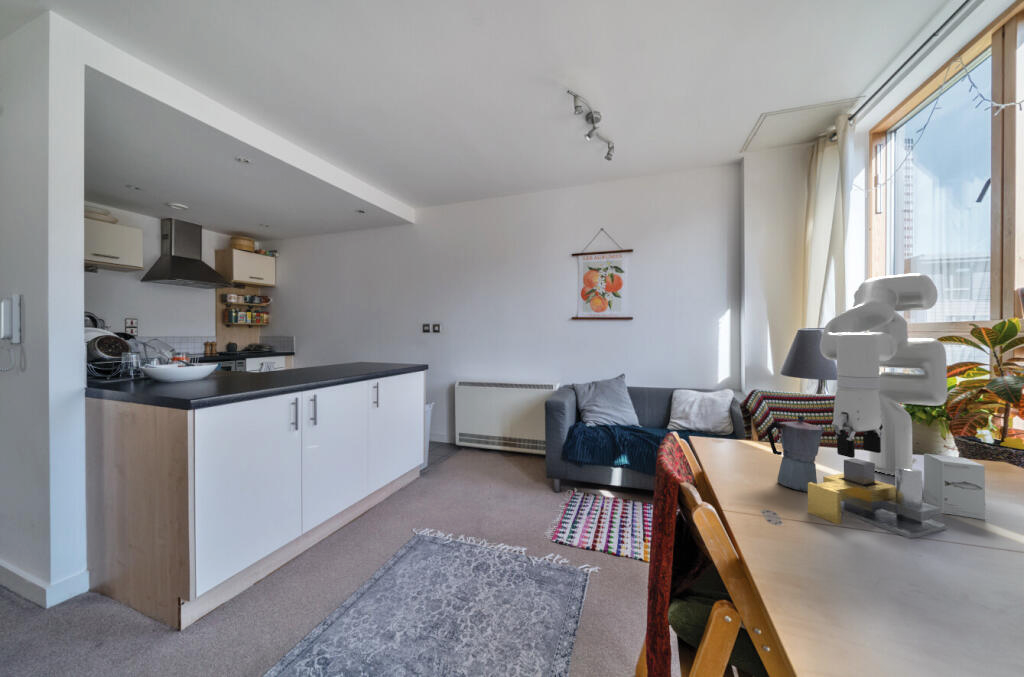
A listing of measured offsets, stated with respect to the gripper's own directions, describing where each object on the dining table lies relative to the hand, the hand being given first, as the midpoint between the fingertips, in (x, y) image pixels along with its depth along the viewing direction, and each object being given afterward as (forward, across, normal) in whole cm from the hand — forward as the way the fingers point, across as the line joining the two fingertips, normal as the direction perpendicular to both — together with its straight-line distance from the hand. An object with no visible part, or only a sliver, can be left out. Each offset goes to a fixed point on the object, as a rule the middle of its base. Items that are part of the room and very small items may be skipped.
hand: (859, 453), depth 87 cm
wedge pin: (+13, +1, 0) cm, 13 cm away
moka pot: (+14, 0, -15) cm, 20 cm away
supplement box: (+14, -21, +7) cm, 26 cm away
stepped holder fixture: (+13, +4, +4) cm, 14 cm away
